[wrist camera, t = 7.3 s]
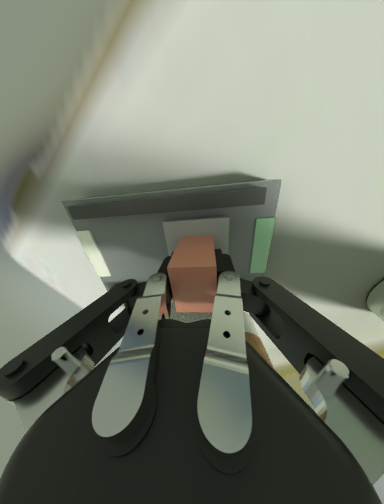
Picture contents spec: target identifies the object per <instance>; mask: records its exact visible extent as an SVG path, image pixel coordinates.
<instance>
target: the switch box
mask: <svg viewBox="0 0 384 504" xmlns="http://www.w3.org/2000/svg"><path fill="white" fill-rule="evenodd" d="M280 186H281V180H258V181H248V182H239V183H229V184H219V185H209V186H199V187H189V188H179V189H170V190H160V191H150V192H140V193H130V194H120V195H111V196H101V197H91V198H83V199H76V200H69V201H62V203H63V205H64V207H65V209H66V211H67V213H68V215H69V217H70V219H71V220H72V222H73V224H74V226H75V228H76V230H77V231H75V232H76V234H77V236H78V238H79V240H80V242H81V244H82V246H83V248H84V250H85V252H86V253H87V255H88V257H89V259H90V261H91V263H92V265H93V267H94V269H95V271H96V273H97V275H98V277H100V278H101V280H102V282H103V284H104V285H105V287H106V289H107V291H110V290H111V289H113V288H114V287H115V286H117V285H118V284H120V283H121V282H123V281H125V280H127V279H135V280H136V281H137V283H138V284H139V283H143V282H147V281H148V278H149V277H150V276H151V275H153V274H155V273H157V272H158V270H159V268H160V266H161V264H162V263H163V260H164V259H165V258H166V257H167V256H169V254H168V249H167V244H166V239H165V234H164V229H163V223H162V222H163V221H165V220H178V219H192V218H205V217H219V216H229V217H230V221H229V251H228V255H229V256H230V257H231V260H232V263H233V266H234V269H235V272H236V273H237V274H238V275H239V276H240V278H241V279H244V280H248V281H253V279H254V278H256V277H260V276H262V277H264V273H265V271H266V266H267V261H268V256H269V250H270V245H271V240H272V235H273V229H274V224H275V219H276V218H275V213H276V207H277V202H278V197H279V191H280Z"/></svg>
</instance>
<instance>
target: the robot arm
mask: <svg viewBox="0 0 384 504" xmlns="http://www.w3.org/2000/svg"><path fill="white" fill-rule="evenodd" d="M214 251H215V258H216V266H217V294H215V300H214V306H213V313H212V319H211V320H208V319H205V320H200V321H196V322H191V323H183V322H180V321H176V320H173V319H172V297H173V294H172V289H171V284H170V280H169V275H168V271H167V266H168V264H169V262H170V260H171V257H172V255H173V253H174V251H173V252H172V254H171V256H167V257H166V258H165V259H164V260H163V263H162V264H161V266H160V268H159V270H158V272H157V273H155V274H153V275H151V276H150V277H149V278H148V281H147V282H143V283H139V284H138V283H137V281H136V280H135V279H127V280H125V281H123V282H121V283H120V284H118V285H117V286H115V287H114V288H113V289H111V290H110V291H108V292H107V293H105V294H104V295H103V296H101V297H100V298H98V299H97V300H96V301H94V302H93V303H91V304H90V305H88V306H87V307H86V308H84V309H83V310H81V311H80V312H79V313H78V314H76V315H74V316H73V317H71V318H70V319H69V320H67V321H66V322H65V323H63V324H62V325H60V326H59V327H57V328H56V329H55V330H53V331H52V332H50V333H49V334H47V335H46V336H45V337H43V338H42V339H40V340H39V341H37V342H36V343H35V344H33V345H32V346H30V347H29V348H28V349H26V350H25V351H23V352H22V353H21V354H19V355H18V356H17V357H15V358H13V359H12V360H11V361H9V362H8V363H7V364H6V365H4V366H3V367H2V368H1V369H0V396H1V397H3V398H4V400H5V401H7V402H9V403H11V404H13V405H15V406H16V408H17V411H18V413H19V416H20V418H21V421H22V423H23V426H24V428H25V431H26V434H25V435H24V436H23V438H22V439H21V441H20V442H19V444H18V445H17V447H16V449H15V450H14V452H13V454H12V456H11V458H10V459H9V461H8V463H7V465H6V467H5V469H4V471H3V474H2V476H1V478H0V504H382V503H381V501H380V499H379V497H378V495H377V493H376V491H375V489H374V487H373V484H374V483H375V482H376V481H377V480H378V479H379V478H380V477H381V476H382V475H383V474H384V359H383V358H382V357H380V356H379V355H378V354H376V353H375V352H373V351H372V350H371V349H369V348H368V347H366V346H365V345H364V344H362V343H361V342H359V341H358V340H356V339H355V338H354V337H352V336H351V335H349V334H348V333H347V332H345V331H344V330H342V329H341V328H340V327H338V326H337V325H335V324H334V323H333V322H331V321H330V320H328V319H327V318H326V317H324V316H323V315H321V314H320V313H318V312H317V311H316V310H314V309H313V308H311V307H310V306H309V305H307V304H306V303H304V302H303V301H302V300H300V299H299V298H297V297H296V296H295V295H293V294H292V293H290V292H289V291H287V290H286V289H285V288H283V287H282V286H280V285H279V284H278V283H276V282H275V281H273V280H272V279H270V278H267V277H262V276H260V277H256V278H254V279H253V281H248V280H244V279H241V278H240V276H239V275H238V274H237V273H236V272H235V269H234V266H233V263H232V260H231V257H230V256H229V255H228V254H222V251H221V249H214ZM122 304H124V306H125V309H124V310H123V311H122V312H121V313H119V314H118V315H117V316H116V317H115V318H114V319H113V320H112V321H110V322H108V318H109V316H110V315H111V314H112V313H113V312H114V311H115V310H116V309H118V308H119V307H120V306H121V305H122ZM367 306H368V308H369V309H370V310H371V311H372V312H373V313H374V314H376V315H377V316H378V317H380V318H381V319H382V320H383V321H384V280H383V281H382V282H380V283H379V284H378V285H377V286H376V287H375V288H374V289H373V290H372V291H371V292H370V294H369V296H368V298H367ZM243 311H246V312H249V314H250V316H251V317H252V318H253V319H254V320H255V322H256V323H257V324H258V325H259V326H260V328H261V329H262V330H263V331H264V332H265V334H266V335H267V336H268V337H269V338H270V339H271V341H272V342H273V343H274V344H275V345H276V347H277V348H278V349H279V350H280V351H281V352H282V354H283V355H284V356H285V357H286V358H287V360H288V361H289V362H290V363H291V364H292V365H293V367H294V368H295V369H296V370H297V371H298V373H299V374H300V383H301V386H302V389H303V390H304V392H305V394H306V395H307V397H308V399H309V400H310V402H311V403H312V405H313V407H314V410H315V411H314V410H313V409H312V408H311V407H310V406H309V405H308V404H307V403H306V402H305V401H304V400H303V399H302V398H301V397H300V396H299V395H298V394H297V393H296V392H295V391H294V390H293V388H291V386H290V385H289V384H288V383H286V381H285V380H284V379H283V378H282V377H281V376H280V375H279V374H278V373H277V372H276V371H275V370H274V369H273V368H272V367H271V366H270V364H269V363H268V362H267V361H266V360H265V359H264V358H263V357H262V356H261V355H260V354H259V353H258V352H257V351H256V350H255V349H254V348H253V347H252V346H251V345H250V344H249V343H248V341H247V340H246V339H245V330H244V316H243ZM123 336H124V337H123ZM122 337H123V340H122V342H121V345H120V347H118V348H117V349H116V350H115V351H114V352H113V353H111V354H110V355H109V356H108V357H107V358H106V359H104V361H102V362H101V363H100V364H99V365H97V367H95V368H94V366H96V364H97V363H98V362H99V361H100V360H101V359H102V358H103V357H104V356H105V355H106V354H107V353H108V352H109V351H110V350H111V349H112V347H113V346H114V345H115V344H116V343H117V342H118V341H119V340H120V339H121V338H122ZM93 368H94V369H93Z"/></svg>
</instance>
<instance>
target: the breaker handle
mask: <svg viewBox="0 0 384 504" xmlns="http://www.w3.org/2000/svg"><path fill="white" fill-rule="evenodd" d="M229 221H230V217H229V216H219V217H205V218H192V219H178V220H165V221H163V222H162V223H163V229H164V234H165V239H166V244H167V249H168V254H169V256H171V254H172V252H173V251H174V253H173V255H172V257H171V260H170V262H169V264H168V266H167V271H168V275H169V280H170V284H171V289H172V294H173V298H174V303H175V308H176V312H206V313H213V306H214V300H215V294H217V266H216V258H215V251H214V249H221V251H222V254H228V251H229Z"/></svg>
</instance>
